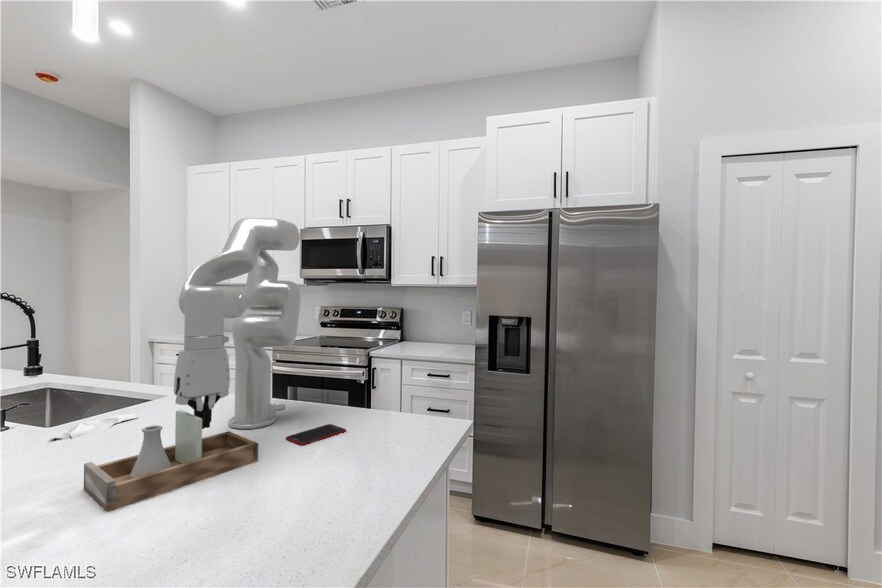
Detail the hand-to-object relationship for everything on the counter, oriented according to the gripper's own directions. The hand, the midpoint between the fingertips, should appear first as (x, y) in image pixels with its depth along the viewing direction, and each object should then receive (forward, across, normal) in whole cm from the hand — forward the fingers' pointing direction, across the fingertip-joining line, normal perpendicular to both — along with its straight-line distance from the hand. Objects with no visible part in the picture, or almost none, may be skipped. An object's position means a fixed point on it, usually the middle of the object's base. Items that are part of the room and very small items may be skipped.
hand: (202, 426), depth 92 cm
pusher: (+7, +3, 0) cm, 8 cm away
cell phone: (+9, -28, +3) cm, 30 cm away
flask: (+8, +10, 0) cm, 12 cm away
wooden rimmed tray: (+9, +5, 0) cm, 10 cm away
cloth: (+10, +5, -50) cm, 51 cm away
